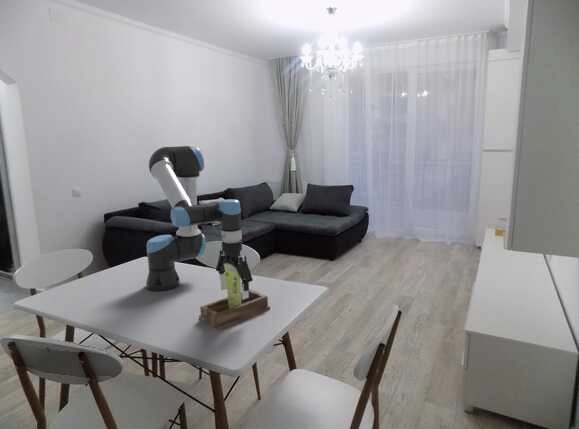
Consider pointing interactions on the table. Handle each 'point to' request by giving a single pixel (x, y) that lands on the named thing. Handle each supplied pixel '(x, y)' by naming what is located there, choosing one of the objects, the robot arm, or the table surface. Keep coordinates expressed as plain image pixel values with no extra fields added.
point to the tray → (234, 310)
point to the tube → (233, 285)
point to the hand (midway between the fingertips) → (234, 293)
